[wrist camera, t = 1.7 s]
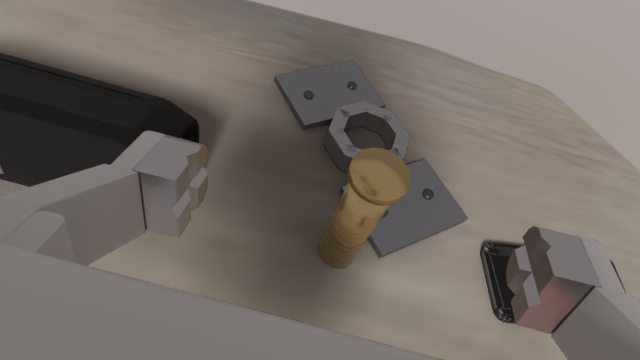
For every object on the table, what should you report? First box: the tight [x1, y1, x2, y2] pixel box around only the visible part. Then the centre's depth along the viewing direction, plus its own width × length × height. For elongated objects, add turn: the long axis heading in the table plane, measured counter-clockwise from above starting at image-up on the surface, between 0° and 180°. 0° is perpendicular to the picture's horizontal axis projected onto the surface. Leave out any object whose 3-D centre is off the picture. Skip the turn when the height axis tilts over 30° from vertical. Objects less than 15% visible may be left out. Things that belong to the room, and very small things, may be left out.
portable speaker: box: [0, 53, 199, 187], centre depth 35 cm, size 26×10×10 cm, turn 80°
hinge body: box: [274, 61, 468, 258], centre depth 47 cm, size 24×11×2 cm, turn 28°
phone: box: [480, 243, 626, 323], centre depth 43 cm, size 8×1×15 cm
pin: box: [318, 148, 411, 268], centre depth 35 cm, size 4×4×13 cm
